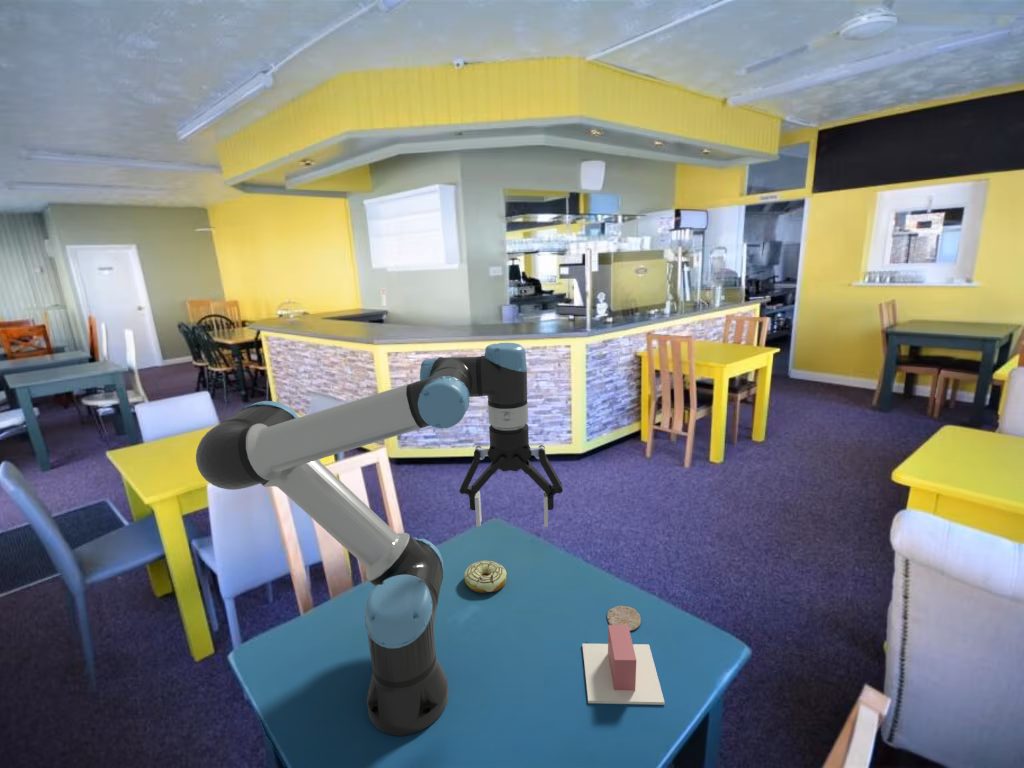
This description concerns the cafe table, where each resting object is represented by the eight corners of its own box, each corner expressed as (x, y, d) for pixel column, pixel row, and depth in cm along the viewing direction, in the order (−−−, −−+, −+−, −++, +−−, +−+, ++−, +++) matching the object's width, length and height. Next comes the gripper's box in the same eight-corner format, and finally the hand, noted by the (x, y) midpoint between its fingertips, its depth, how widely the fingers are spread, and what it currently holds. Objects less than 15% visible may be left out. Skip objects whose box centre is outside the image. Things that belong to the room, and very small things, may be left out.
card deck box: (607, 653, 104) (608, 624, 103) (627, 653, 104) (628, 625, 102) (614, 690, 96) (614, 659, 94) (635, 690, 96) (636, 660, 94)
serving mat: (588, 703, 94) (588, 700, 94) (582, 645, 107) (582, 643, 107) (664, 704, 93) (664, 702, 93) (648, 646, 106) (649, 644, 106)
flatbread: (609, 605, 119) (609, 601, 119) (642, 611, 117) (642, 607, 117) (604, 630, 112) (604, 626, 112) (639, 636, 110) (639, 632, 109)
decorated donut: (495, 601, 122) (494, 587, 121) (457, 590, 127) (456, 577, 126) (513, 575, 132) (512, 563, 131) (477, 566, 136) (476, 554, 135)
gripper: (440, 432, 93) (448, 533, 99) (575, 430, 92) (575, 533, 97) (447, 418, 101) (454, 514, 106) (572, 416, 99) (573, 513, 105)
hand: (512, 523), depth 102 cm, fingers open, 13 cm apart
